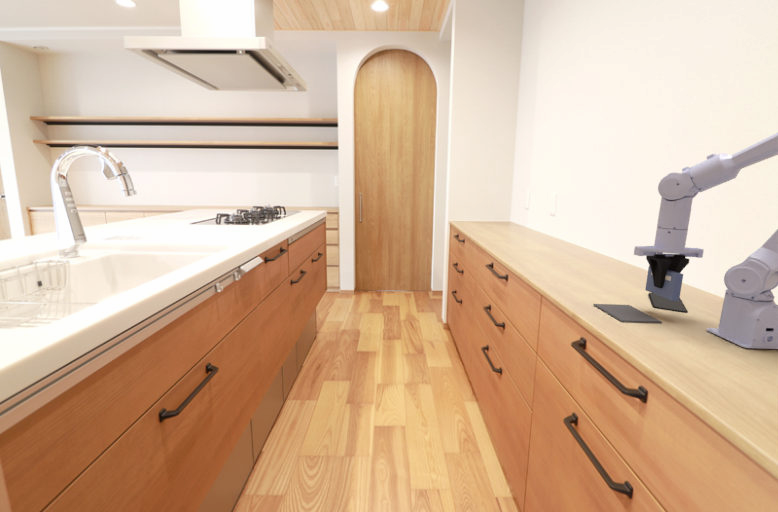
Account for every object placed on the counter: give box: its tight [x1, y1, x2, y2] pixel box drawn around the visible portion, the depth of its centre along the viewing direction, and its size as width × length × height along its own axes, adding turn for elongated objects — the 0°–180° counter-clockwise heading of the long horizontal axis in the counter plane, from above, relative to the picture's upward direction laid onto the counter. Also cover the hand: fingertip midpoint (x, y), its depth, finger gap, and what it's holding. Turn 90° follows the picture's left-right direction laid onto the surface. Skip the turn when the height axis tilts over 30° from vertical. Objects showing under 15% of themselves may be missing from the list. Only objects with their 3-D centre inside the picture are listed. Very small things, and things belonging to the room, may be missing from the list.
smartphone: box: [647, 292, 688, 314], centre depth 105 cm, size 7×1×15 cm
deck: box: [645, 265, 684, 301], centre depth 92 cm, size 9×2×6 cm, turn 1°
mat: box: [593, 303, 663, 324], centre depth 94 cm, size 12×9×1 cm
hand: (662, 287), depth 92 cm, fingers closed on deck, 2 cm apart
